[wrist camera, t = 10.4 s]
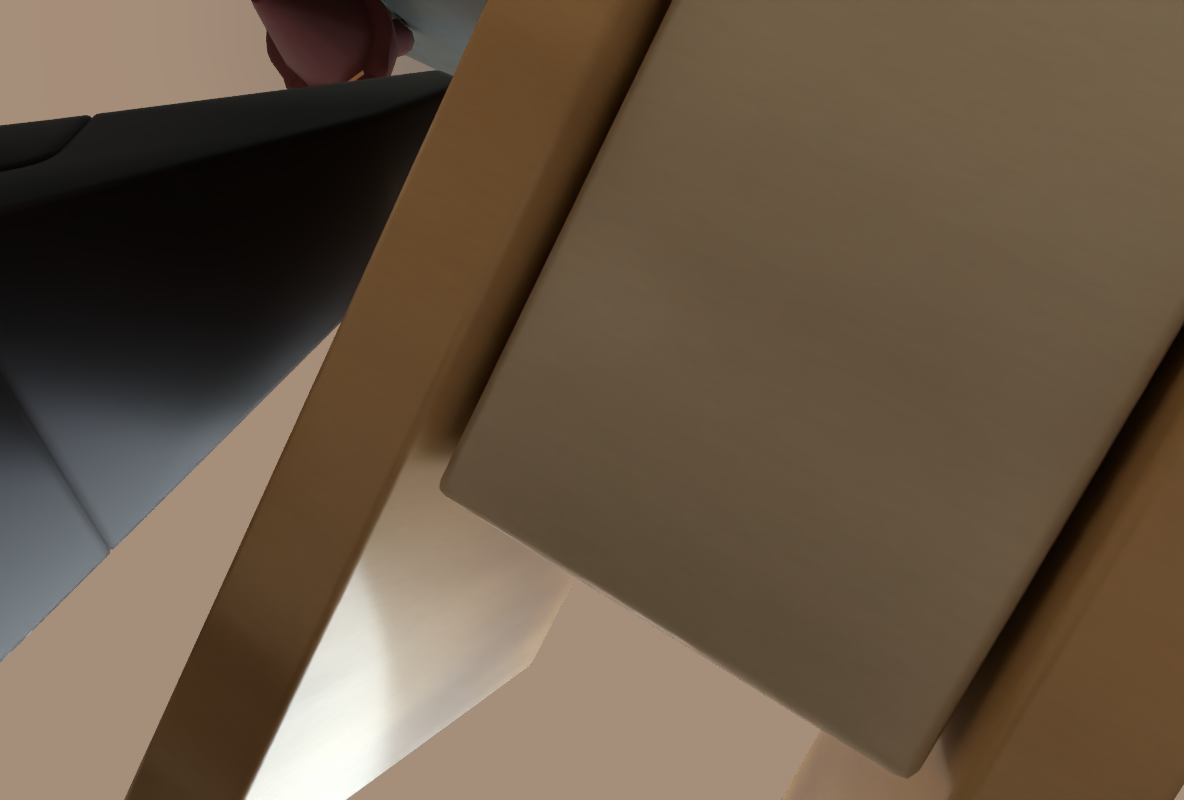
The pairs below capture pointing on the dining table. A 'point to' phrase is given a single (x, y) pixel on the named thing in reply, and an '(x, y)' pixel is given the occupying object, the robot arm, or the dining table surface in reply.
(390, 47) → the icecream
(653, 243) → the napkin holder
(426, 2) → the dining table surface
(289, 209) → the robot arm
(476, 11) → the dining table surface
